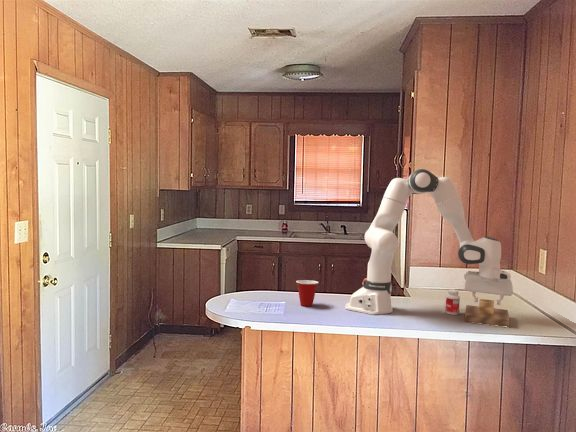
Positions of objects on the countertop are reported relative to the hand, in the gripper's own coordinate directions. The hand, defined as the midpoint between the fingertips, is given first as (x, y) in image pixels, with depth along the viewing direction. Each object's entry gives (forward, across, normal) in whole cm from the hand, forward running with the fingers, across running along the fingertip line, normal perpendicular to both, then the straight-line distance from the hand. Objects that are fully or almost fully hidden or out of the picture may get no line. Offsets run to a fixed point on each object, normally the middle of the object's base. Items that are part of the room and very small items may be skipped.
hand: (487, 303), depth 220 cm
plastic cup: (+8, -81, -16) cm, 83 cm away
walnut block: (+8, 0, 0) cm, 8 cm away
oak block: (+4, 0, 0) cm, 4 cm away
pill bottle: (+8, -15, +3) cm, 17 cm away
